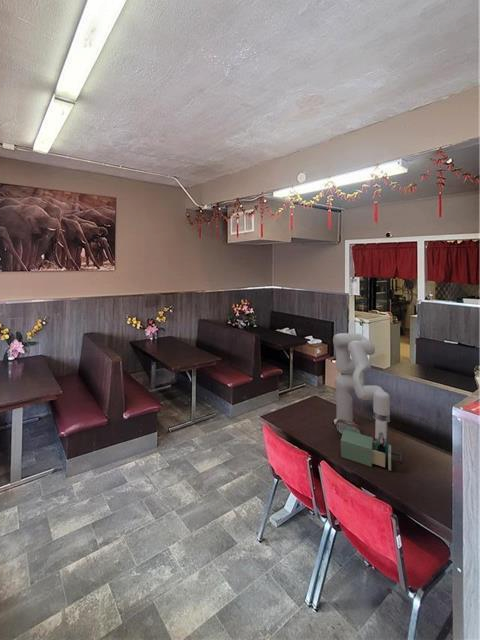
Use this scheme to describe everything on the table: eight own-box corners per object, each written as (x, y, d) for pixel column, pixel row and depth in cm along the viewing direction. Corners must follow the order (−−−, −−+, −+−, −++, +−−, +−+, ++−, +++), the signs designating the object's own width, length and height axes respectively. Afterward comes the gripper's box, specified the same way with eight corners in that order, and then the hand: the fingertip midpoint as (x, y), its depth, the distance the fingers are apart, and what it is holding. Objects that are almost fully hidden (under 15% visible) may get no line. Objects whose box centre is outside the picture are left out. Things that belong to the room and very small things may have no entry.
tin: (363, 440, 180) (363, 425, 180) (361, 442, 178) (361, 428, 178) (336, 430, 190) (336, 416, 190) (335, 432, 188) (335, 418, 188)
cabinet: (373, 454, 167) (373, 437, 167) (371, 467, 156) (371, 449, 157) (343, 445, 175) (343, 429, 175) (340, 456, 164) (340, 439, 165)
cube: (376, 447, 163) (376, 437, 163) (387, 450, 160) (387, 440, 160) (376, 451, 159) (376, 442, 159) (387, 455, 156) (387, 445, 156)
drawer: (402, 462, 159) (402, 448, 159) (402, 474, 150) (402, 459, 150) (362, 449, 169) (362, 436, 169) (360, 460, 160) (360, 447, 160)
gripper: (374, 407, 169) (374, 440, 168) (372, 420, 155) (372, 456, 154) (390, 411, 165) (390, 445, 164) (389, 425, 151) (390, 462, 150)
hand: (381, 450), depth 159 cm, fingers closed on cube, 4 cm apart
